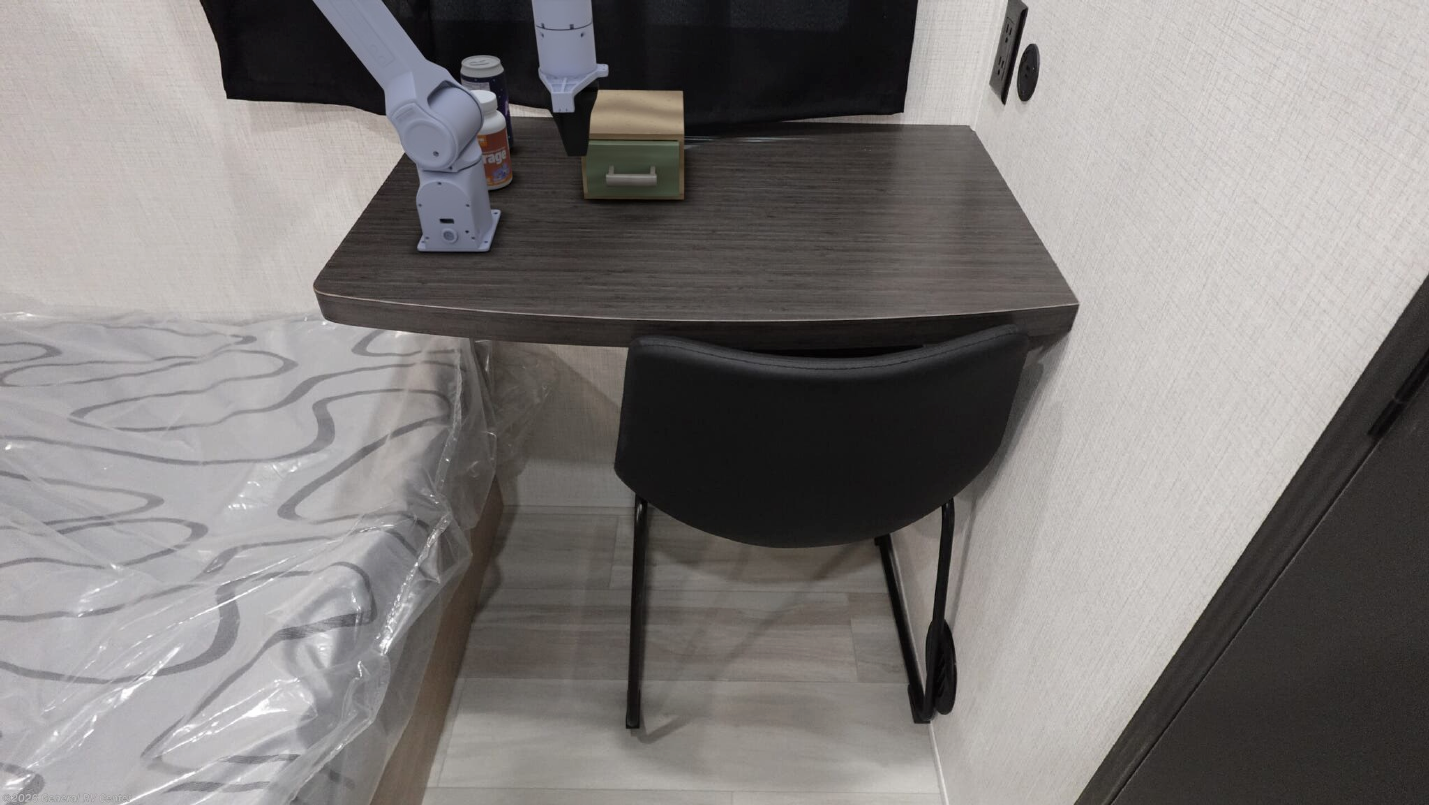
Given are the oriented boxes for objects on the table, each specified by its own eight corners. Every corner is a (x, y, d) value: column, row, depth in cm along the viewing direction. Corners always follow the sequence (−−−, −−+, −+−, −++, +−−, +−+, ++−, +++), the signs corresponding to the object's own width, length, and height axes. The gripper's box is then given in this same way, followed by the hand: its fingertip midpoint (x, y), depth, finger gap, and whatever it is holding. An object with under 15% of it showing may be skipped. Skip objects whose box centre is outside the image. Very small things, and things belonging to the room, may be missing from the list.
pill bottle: (469, 195, 106) (454, 108, 99) (460, 175, 110) (445, 90, 103) (518, 187, 108) (507, 101, 101) (507, 168, 112) (496, 84, 105)
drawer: (679, 213, 102) (679, 159, 97) (585, 212, 101) (581, 158, 97) (678, 152, 115) (678, 103, 111) (595, 151, 115) (592, 102, 110)
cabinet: (683, 199, 106) (684, 133, 101) (584, 198, 106) (579, 132, 100) (682, 152, 118) (682, 90, 112) (592, 151, 117) (588, 89, 112)
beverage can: (518, 155, 115) (506, 66, 108) (476, 160, 114) (462, 70, 106) (510, 139, 119) (498, 52, 112) (469, 144, 118) (455, 56, 110)
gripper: (599, 44, 77) (610, 182, 86) (608, 1, 88) (617, 127, 97) (522, 44, 77) (541, 183, 86) (541, 2, 88) (556, 128, 97)
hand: (577, 153), depth 91 cm, fingers closed
